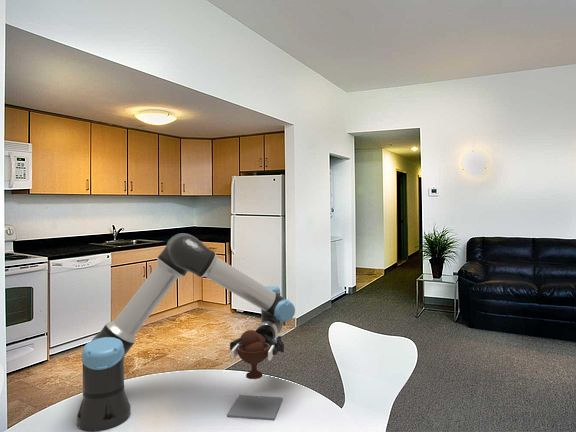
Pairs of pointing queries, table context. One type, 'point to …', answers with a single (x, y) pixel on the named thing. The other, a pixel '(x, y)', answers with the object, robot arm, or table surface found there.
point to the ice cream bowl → (253, 351)
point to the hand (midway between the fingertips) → (250, 355)
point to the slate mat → (255, 407)
